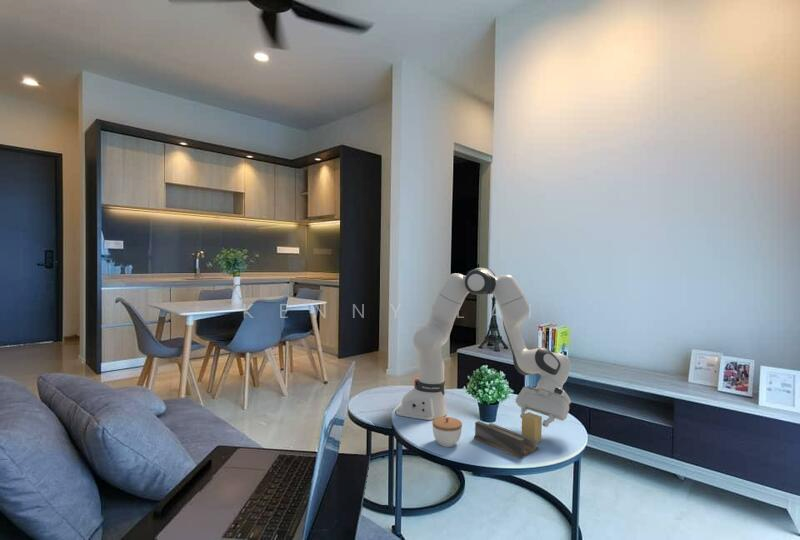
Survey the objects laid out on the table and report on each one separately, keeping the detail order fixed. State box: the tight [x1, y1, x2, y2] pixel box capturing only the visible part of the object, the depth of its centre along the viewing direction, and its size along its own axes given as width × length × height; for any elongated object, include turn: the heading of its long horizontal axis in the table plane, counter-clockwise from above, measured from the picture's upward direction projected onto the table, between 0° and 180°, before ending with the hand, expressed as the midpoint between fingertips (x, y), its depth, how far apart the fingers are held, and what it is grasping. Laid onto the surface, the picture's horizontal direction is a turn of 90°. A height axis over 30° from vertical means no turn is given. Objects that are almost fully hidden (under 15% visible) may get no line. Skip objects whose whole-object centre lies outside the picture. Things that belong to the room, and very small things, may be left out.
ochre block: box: [521, 412, 543, 443], centre depth 152 cm, size 4×6×9 cm
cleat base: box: [473, 420, 539, 459], centre depth 148 cm, size 11×20×6 cm, turn 39°
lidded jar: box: [431, 416, 463, 448], centre depth 148 cm, size 11×11×9 cm
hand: (533, 421), depth 153 cm, fingers open, 8 cm apart
